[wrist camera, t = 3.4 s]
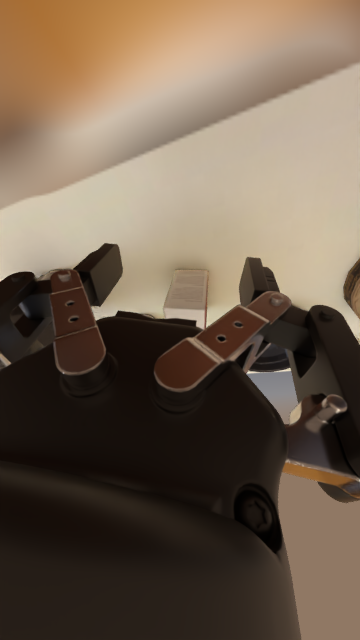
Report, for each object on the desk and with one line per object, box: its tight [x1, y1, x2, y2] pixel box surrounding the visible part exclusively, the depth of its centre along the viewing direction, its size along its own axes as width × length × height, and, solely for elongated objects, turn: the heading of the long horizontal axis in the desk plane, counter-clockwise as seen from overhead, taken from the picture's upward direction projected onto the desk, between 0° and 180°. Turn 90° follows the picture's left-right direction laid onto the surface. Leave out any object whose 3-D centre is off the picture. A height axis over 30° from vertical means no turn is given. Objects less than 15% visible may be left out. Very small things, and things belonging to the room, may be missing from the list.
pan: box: [249, 343, 291, 372], centre depth 40 cm, size 16×16×4 cm
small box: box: [163, 270, 208, 329], centre depth 32 cm, size 8×6×10 cm
